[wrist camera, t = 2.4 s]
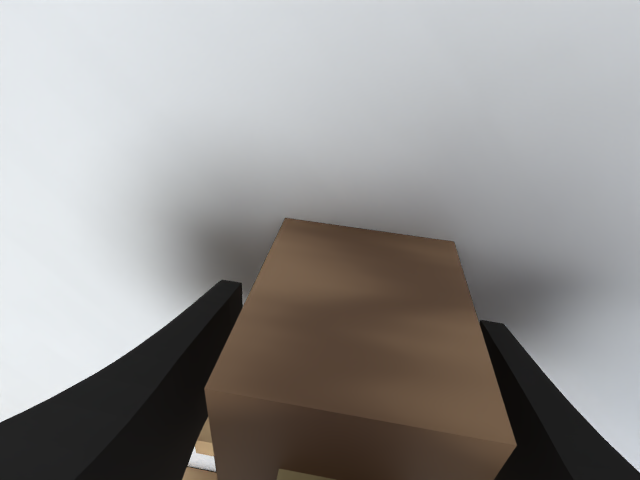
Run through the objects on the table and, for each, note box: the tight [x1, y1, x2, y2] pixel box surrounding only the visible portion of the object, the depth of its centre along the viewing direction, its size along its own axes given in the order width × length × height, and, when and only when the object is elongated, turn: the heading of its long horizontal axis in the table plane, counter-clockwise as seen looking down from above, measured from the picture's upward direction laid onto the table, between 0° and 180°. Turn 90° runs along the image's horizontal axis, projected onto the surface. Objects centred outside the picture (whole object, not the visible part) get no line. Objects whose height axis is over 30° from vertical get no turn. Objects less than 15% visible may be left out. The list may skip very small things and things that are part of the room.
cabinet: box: [204, 218, 517, 480], centre depth 9 cm, size 5×5×7 cm
